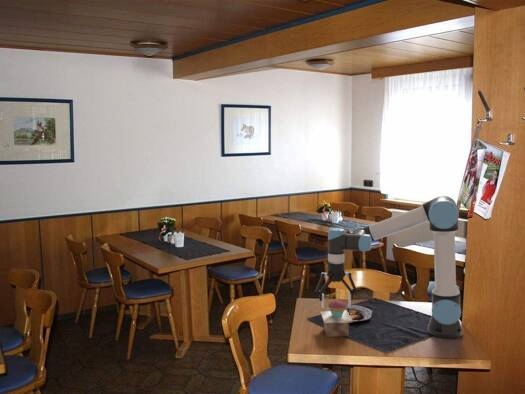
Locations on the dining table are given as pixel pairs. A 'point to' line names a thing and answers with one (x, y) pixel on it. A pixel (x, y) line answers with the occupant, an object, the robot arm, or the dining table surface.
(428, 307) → the dining table surface
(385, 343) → the dining table surface
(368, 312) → the food plate
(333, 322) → the white box
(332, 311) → the cupcake
